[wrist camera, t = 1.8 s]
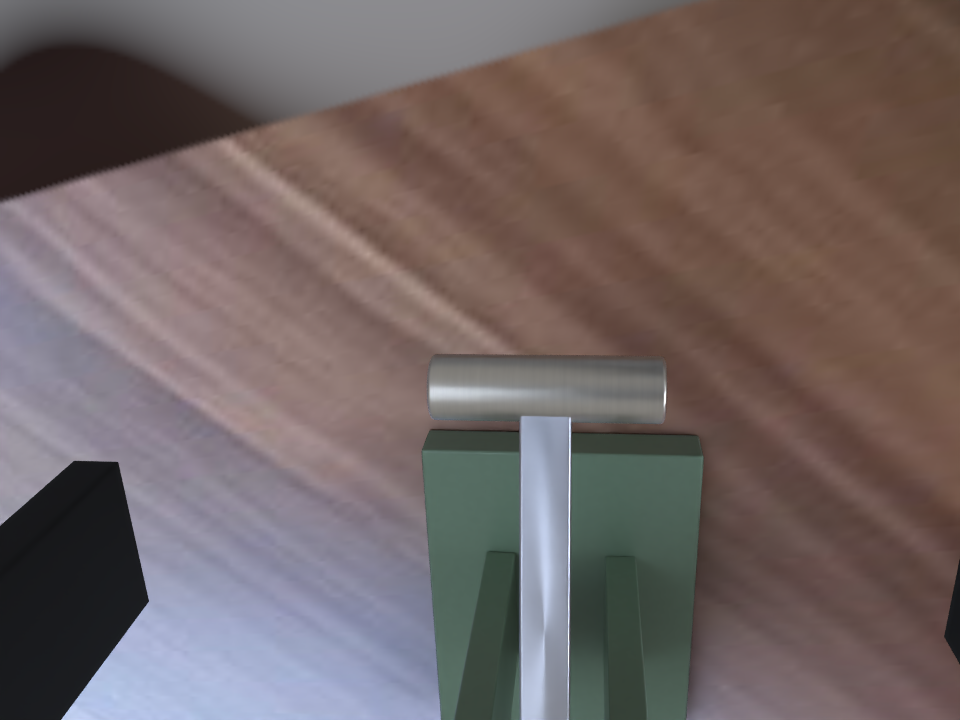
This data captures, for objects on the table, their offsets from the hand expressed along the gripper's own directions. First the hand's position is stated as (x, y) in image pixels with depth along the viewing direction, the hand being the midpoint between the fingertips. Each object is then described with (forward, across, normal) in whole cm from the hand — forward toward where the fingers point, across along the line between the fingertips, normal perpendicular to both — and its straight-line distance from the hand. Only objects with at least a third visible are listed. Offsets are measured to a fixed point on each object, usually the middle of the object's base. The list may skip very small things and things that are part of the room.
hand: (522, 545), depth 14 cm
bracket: (+15, 0, -11) cm, 18 cm away
